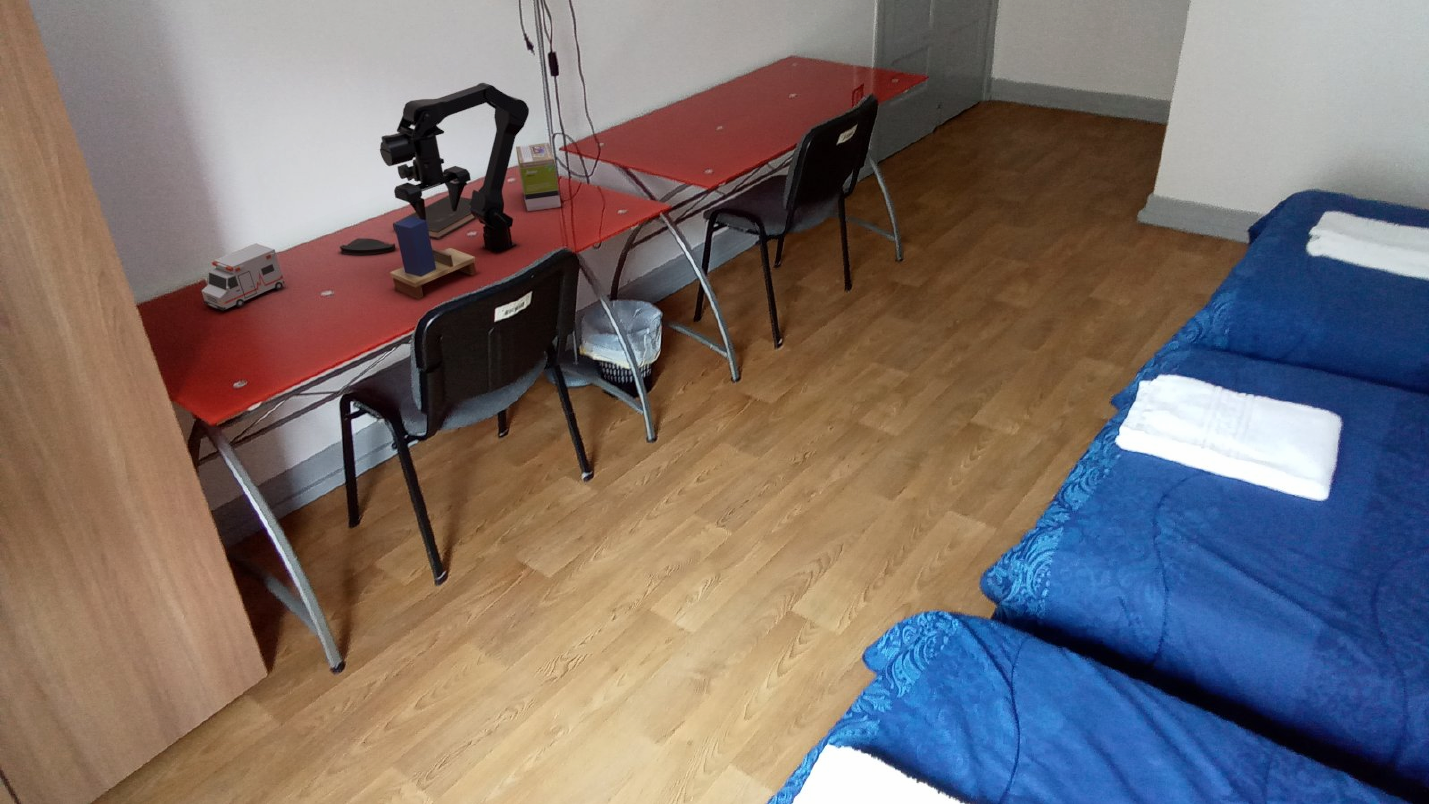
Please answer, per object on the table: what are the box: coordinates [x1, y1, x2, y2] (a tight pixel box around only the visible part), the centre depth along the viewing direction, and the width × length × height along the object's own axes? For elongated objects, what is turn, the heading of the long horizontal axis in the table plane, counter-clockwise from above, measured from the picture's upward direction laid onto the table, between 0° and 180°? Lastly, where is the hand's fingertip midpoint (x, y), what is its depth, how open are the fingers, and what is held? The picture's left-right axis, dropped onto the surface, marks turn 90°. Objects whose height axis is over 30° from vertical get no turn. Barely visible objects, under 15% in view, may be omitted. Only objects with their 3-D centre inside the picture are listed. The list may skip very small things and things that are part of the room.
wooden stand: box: [389, 247, 477, 300], centre depth 242 cm, size 18×10×8 cm, turn 140°
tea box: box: [515, 142, 562, 212], centre depth 284 cm, size 15×10×15 cm
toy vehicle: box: [201, 242, 285, 311], centre depth 238 cm, size 10×17×10 cm, turn 146°
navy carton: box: [394, 217, 436, 277], centre depth 236 cm, size 5×6×12 cm
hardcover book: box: [392, 194, 477, 240], centre depth 278 cm, size 16×23×2 cm
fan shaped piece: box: [339, 237, 397, 256], centre depth 262 cm, size 8×14×2 cm, turn 71°
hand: (439, 216), depth 245 cm, fingers open, 9 cm apart
